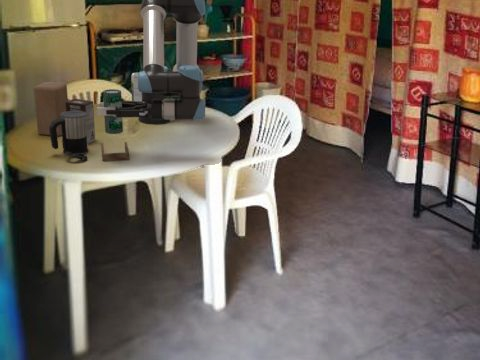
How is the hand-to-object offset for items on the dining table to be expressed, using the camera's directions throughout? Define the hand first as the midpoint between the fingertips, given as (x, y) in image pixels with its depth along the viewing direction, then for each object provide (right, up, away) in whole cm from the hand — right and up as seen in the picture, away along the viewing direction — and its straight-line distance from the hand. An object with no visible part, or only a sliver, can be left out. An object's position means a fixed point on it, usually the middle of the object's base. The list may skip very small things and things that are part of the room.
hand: (98, 108), depth 222 cm
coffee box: (-12, -10, +22) cm, 27 cm away
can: (+5, -8, +4) cm, 10 cm away
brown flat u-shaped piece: (+4, -16, +8) cm, 18 cm away
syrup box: (+1, +12, +79) cm, 80 cm away
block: (-26, -6, +31) cm, 41 cm away
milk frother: (-10, -17, +6) cm, 20 cm away
